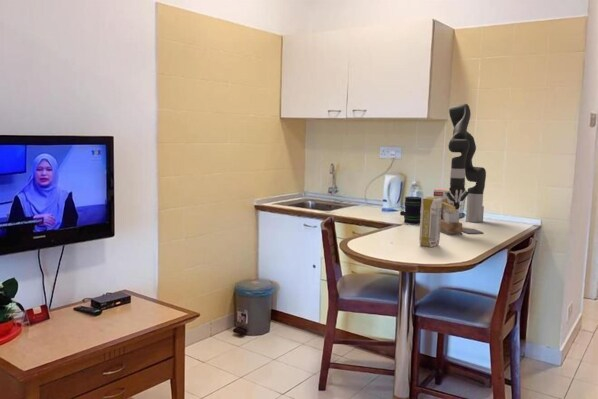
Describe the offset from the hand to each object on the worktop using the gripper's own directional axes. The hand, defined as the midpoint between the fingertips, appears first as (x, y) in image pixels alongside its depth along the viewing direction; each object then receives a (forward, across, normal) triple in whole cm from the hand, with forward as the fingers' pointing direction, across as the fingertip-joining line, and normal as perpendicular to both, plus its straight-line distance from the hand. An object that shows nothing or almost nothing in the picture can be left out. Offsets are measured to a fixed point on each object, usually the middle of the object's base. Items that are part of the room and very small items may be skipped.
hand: (456, 209), depth 280 cm
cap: (+7, +2, -1) cm, 7 cm away
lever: (+7, +3, -6) cm, 10 cm away
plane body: (+13, +2, -6) cm, 15 cm away
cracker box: (+13, -6, -24) cm, 28 cm away
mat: (+13, -10, -2) cm, 17 cm away
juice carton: (+13, +27, +26) cm, 40 cm away
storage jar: (+13, +10, -34) cm, 38 cm away
